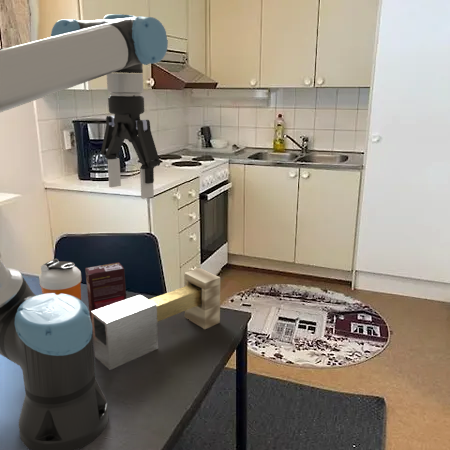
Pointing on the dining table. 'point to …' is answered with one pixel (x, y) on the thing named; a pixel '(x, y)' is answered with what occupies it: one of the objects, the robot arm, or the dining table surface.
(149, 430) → the dining table surface
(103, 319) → the sleeve
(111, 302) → the supplement box
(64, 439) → the robot arm
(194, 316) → the socket
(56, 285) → the shaker bottle
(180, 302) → the yellow square bar
